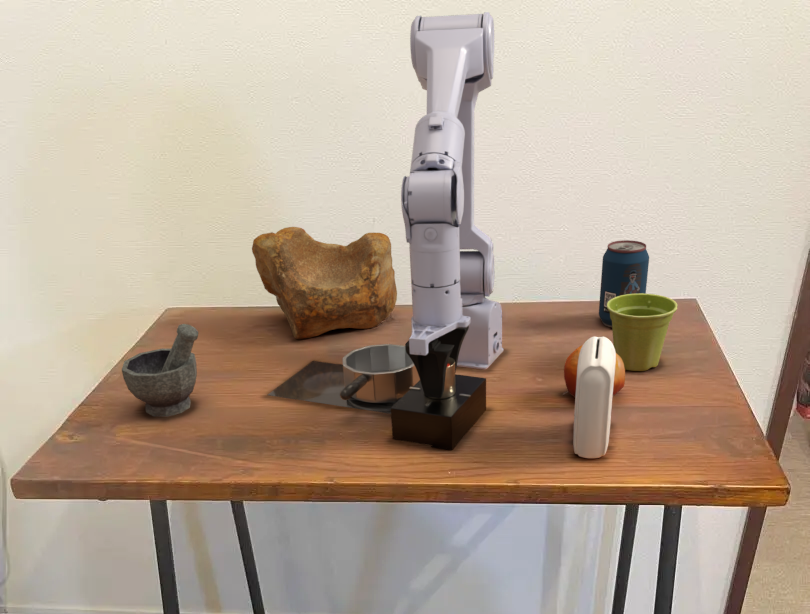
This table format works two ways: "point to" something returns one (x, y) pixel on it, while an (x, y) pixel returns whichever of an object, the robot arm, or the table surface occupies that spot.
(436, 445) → the box
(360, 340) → the table surface
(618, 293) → the soda can
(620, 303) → the plant pot
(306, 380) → the hob
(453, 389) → the knob
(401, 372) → the saucepan
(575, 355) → the fruit
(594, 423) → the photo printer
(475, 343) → the robot arm
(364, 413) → the table surface
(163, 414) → the mortar and pestle
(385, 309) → the rough brown rock
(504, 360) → the table surface
